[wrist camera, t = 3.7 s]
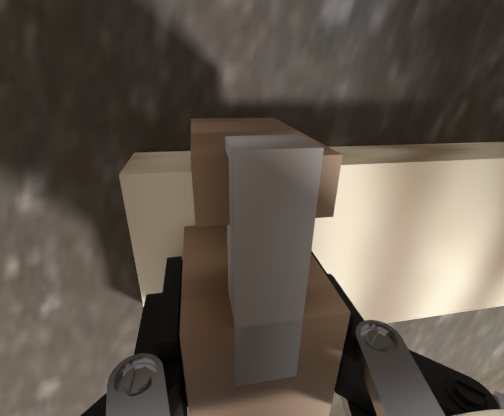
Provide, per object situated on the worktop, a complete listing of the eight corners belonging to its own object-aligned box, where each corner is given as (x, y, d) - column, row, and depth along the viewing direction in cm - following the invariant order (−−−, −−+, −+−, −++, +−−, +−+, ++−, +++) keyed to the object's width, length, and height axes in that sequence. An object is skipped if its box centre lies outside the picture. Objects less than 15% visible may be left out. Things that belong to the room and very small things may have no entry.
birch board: (573, 139, 17) (649, 152, 14) (512, 267, 20) (562, 298, 18) (134, 152, 12) (118, 175, 10) (159, 311, 16) (152, 360, 13)
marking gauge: (287, 109, 11) (385, 145, 5) (275, 299, 14) (325, 433, 9) (175, 109, 10) (157, 152, 5) (193, 309, 14) (195, 461, 8)
